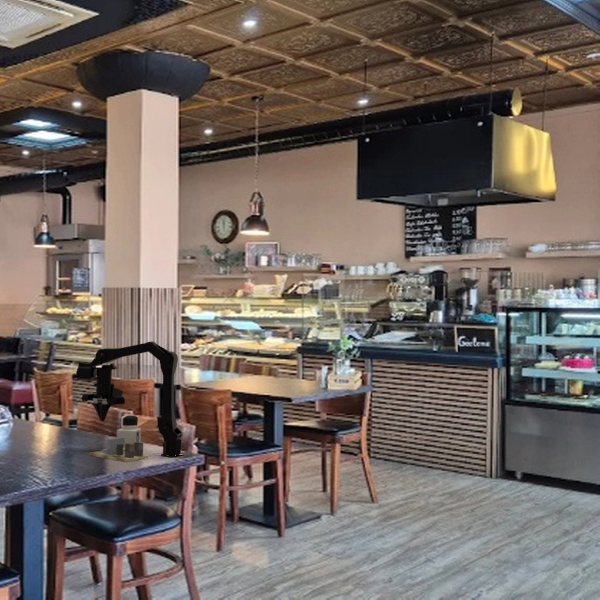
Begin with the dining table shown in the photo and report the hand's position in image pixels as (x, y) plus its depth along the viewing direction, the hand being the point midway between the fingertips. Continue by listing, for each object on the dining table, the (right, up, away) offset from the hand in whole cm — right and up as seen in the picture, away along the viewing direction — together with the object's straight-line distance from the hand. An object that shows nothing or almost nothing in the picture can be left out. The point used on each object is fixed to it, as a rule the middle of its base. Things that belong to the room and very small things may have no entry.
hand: (102, 421), depth 308 cm
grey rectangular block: (+9, -11, -10) cm, 17 cm away
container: (+8, -13, +11) cm, 19 cm away
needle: (+10, -10, -16) cm, 21 cm away
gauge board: (+8, -12, -9) cm, 17 cm away
